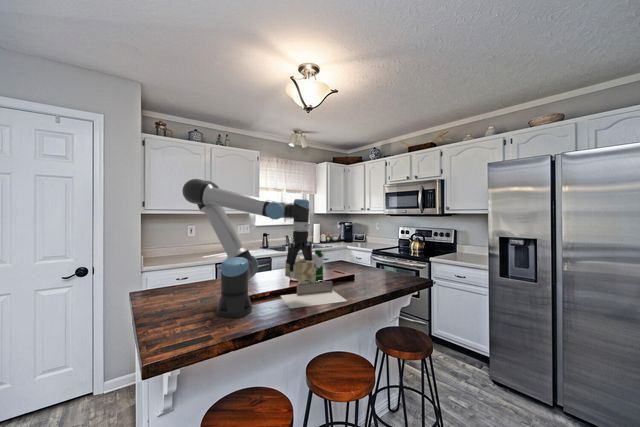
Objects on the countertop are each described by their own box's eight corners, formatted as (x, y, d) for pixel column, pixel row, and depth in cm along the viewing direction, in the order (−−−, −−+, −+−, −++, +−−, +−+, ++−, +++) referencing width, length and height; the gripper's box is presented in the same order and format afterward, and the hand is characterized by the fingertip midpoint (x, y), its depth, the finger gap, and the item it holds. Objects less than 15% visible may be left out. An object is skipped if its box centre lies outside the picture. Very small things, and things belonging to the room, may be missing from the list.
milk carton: (314, 283, 170) (315, 251, 169) (305, 280, 176) (306, 249, 176) (325, 281, 175) (325, 250, 175) (316, 278, 182) (316, 248, 182)
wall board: (289, 309, 127) (289, 308, 127) (280, 296, 144) (280, 295, 144) (347, 302, 138) (347, 300, 138) (332, 291, 155) (332, 290, 155)
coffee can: (299, 285, 165) (299, 262, 165) (316, 286, 164) (317, 263, 164) (296, 290, 155) (296, 266, 154) (314, 291, 154) (314, 266, 153)
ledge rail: (297, 296, 145) (298, 283, 145) (296, 295, 147) (296, 282, 147) (332, 292, 153) (332, 280, 153) (330, 291, 155) (331, 279, 154)
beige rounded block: (301, 281, 128) (302, 263, 128) (285, 276, 136) (285, 259, 136) (313, 278, 134) (314, 261, 134) (297, 273, 142) (297, 257, 142)
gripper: (289, 232, 125) (287, 281, 125) (320, 230, 140) (319, 274, 140) (279, 230, 130) (277, 278, 130) (310, 229, 145) (308, 271, 146)
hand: (299, 276), depth 135 cm, fingers closed on beige rounded block, 8 cm apart
